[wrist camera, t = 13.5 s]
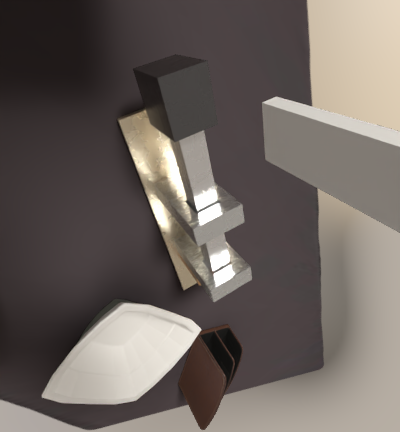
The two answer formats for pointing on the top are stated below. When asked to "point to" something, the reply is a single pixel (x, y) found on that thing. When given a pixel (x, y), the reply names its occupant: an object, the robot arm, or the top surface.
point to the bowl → (121, 354)
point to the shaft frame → (183, 210)
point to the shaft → (186, 132)
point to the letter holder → (210, 371)
